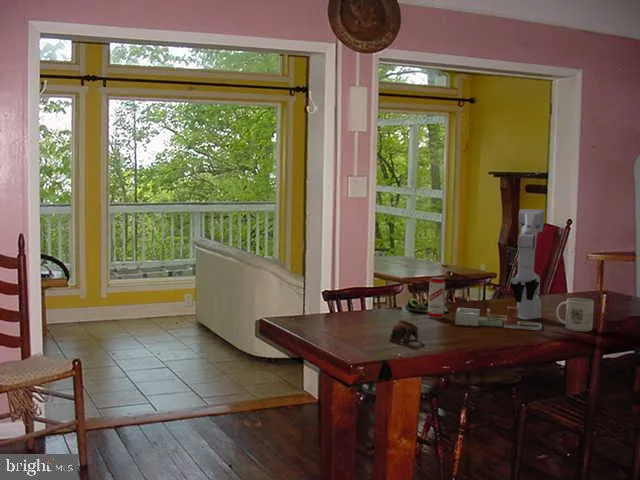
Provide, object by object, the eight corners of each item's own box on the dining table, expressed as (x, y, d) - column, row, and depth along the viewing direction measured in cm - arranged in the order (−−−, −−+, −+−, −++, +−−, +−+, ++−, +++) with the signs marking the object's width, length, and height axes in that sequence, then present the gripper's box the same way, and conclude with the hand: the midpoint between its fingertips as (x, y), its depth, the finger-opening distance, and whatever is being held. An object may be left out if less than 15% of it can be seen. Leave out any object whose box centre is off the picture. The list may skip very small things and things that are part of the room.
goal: (479, 320, 303) (479, 309, 302) (477, 326, 292) (478, 314, 292) (457, 318, 305) (457, 307, 305) (455, 324, 294) (455, 312, 294)
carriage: (519, 324, 297) (520, 306, 296) (519, 327, 291) (520, 309, 290) (486, 321, 300) (487, 304, 299) (486, 324, 294) (487, 307, 293)
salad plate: (445, 306, 333) (445, 296, 332) (457, 315, 315) (458, 303, 315) (401, 306, 330) (401, 296, 330) (411, 315, 312) (412, 303, 312)
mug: (577, 332, 286) (579, 303, 285) (553, 326, 296) (555, 297, 295) (597, 330, 291) (599, 301, 290) (573, 323, 301) (575, 296, 300)
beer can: (442, 319, 303) (444, 279, 301) (426, 318, 304) (428, 278, 303) (444, 316, 309) (446, 277, 307) (428, 315, 310) (430, 276, 309)
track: (541, 325, 296) (541, 320, 296) (541, 330, 287) (542, 325, 287) (477, 320, 302) (478, 315, 302) (476, 325, 293) (476, 320, 293)
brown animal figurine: (383, 340, 267) (392, 319, 269) (407, 352, 269) (416, 330, 271) (395, 339, 256) (404, 317, 258) (419, 351, 257) (428, 329, 259)
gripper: (527, 263, 299) (525, 297, 301) (505, 265, 290) (503, 301, 291) (543, 265, 294) (541, 300, 295) (521, 268, 284) (519, 304, 286)
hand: (523, 301), depth 293 cm, fingers open, 7 cm apart
